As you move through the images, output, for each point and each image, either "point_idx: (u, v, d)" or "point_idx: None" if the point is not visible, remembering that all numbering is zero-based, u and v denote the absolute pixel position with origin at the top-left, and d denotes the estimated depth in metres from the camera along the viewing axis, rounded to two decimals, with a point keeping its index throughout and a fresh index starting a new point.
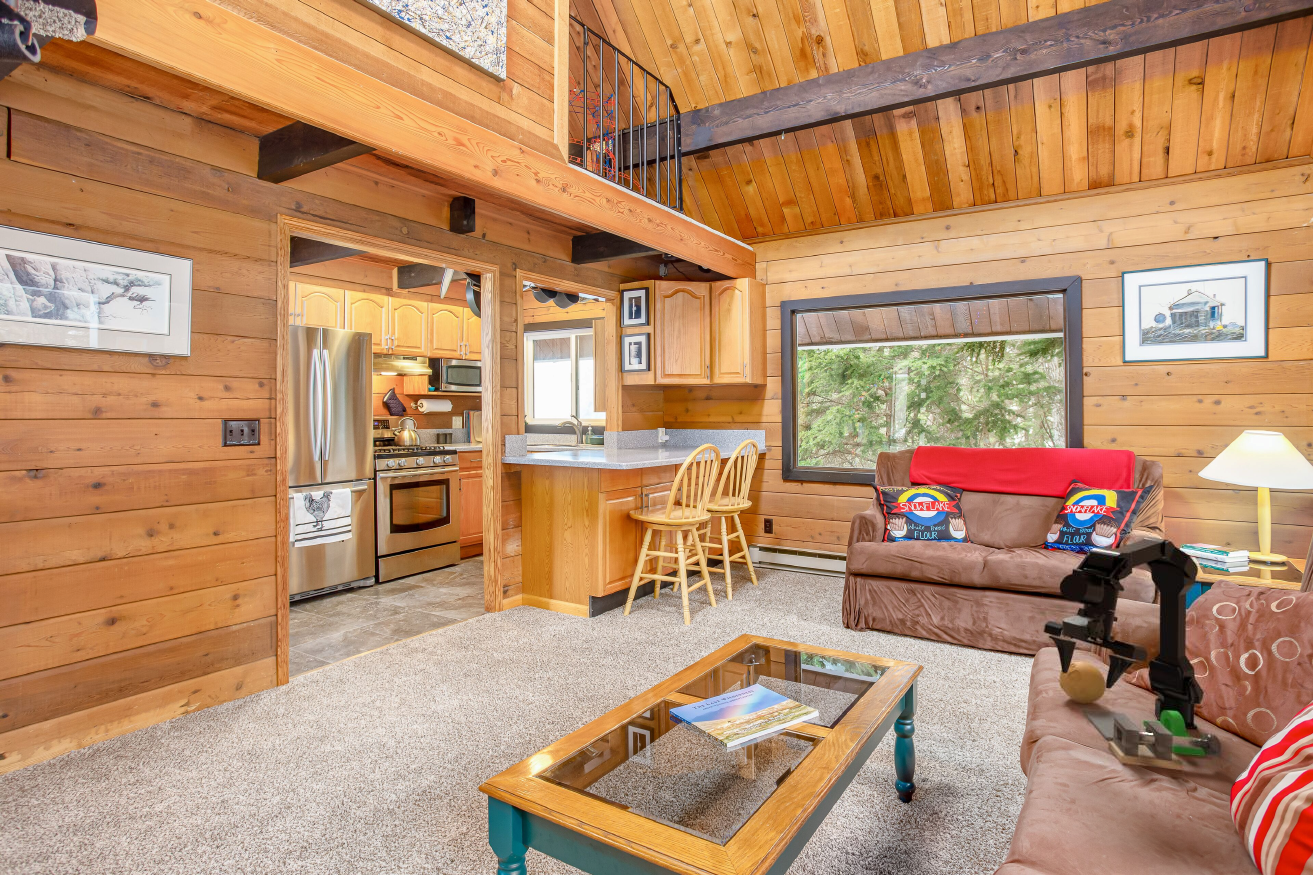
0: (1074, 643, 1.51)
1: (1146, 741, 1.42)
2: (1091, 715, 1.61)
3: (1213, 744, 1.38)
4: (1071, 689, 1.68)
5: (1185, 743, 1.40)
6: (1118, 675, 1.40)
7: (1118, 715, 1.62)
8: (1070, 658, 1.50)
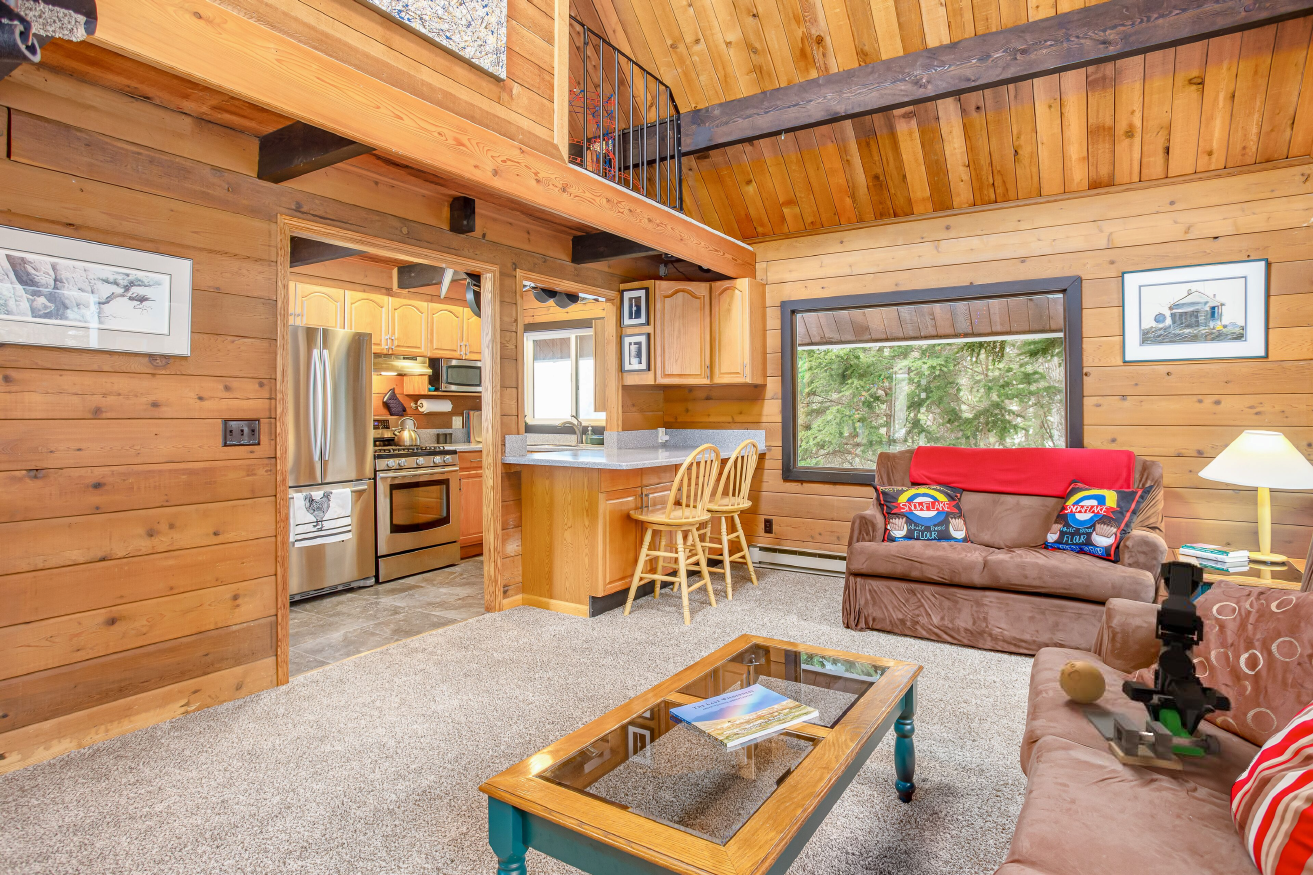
0: None
1: (1146, 741, 1.42)
2: (1091, 715, 1.61)
3: (1213, 744, 1.38)
4: (1071, 690, 1.68)
5: (1185, 743, 1.40)
6: None
7: (1118, 715, 1.62)
8: None
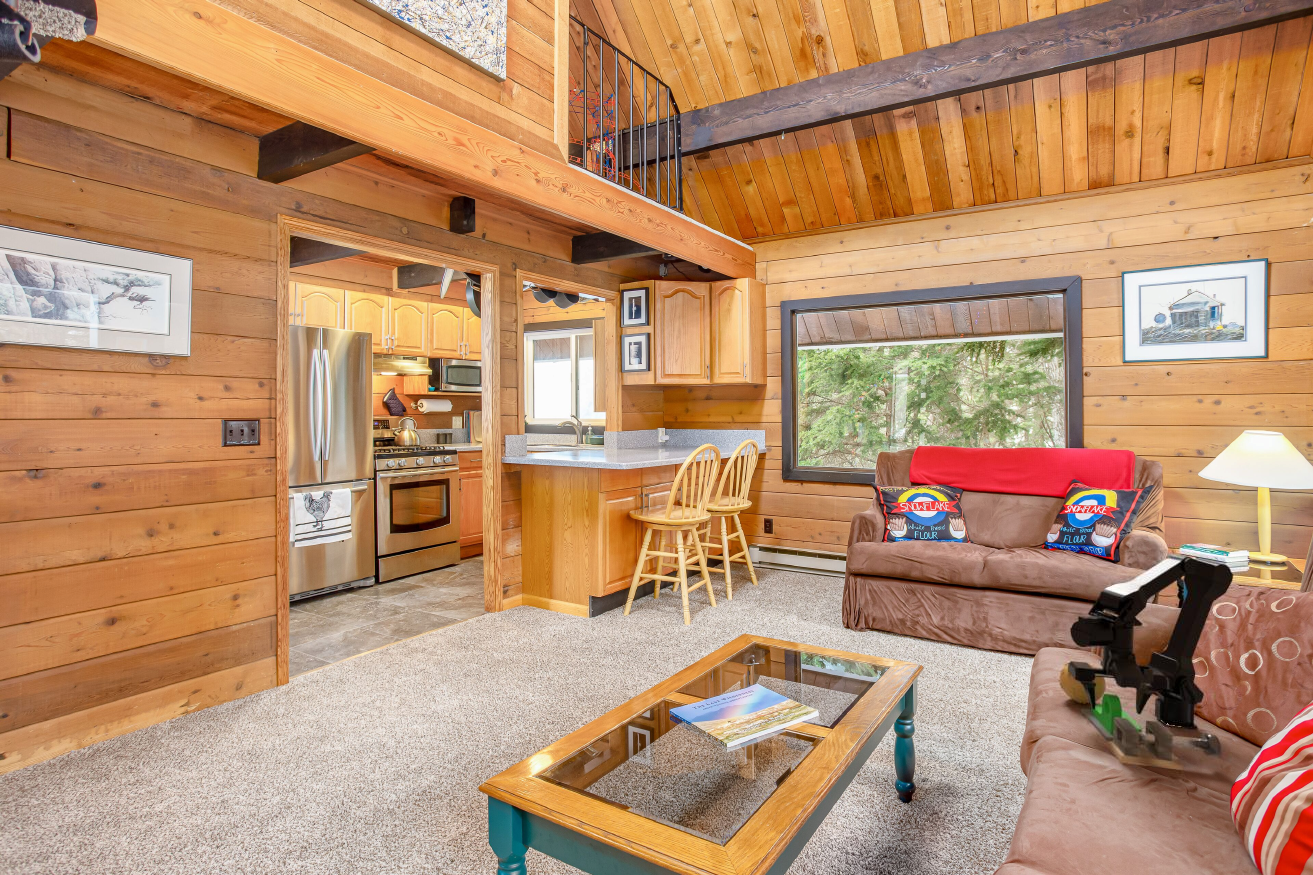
0: None
1: (1146, 741, 1.42)
2: (1091, 715, 1.61)
3: (1213, 744, 1.38)
4: (1071, 689, 1.68)
5: (1185, 743, 1.40)
6: None
7: None
8: None
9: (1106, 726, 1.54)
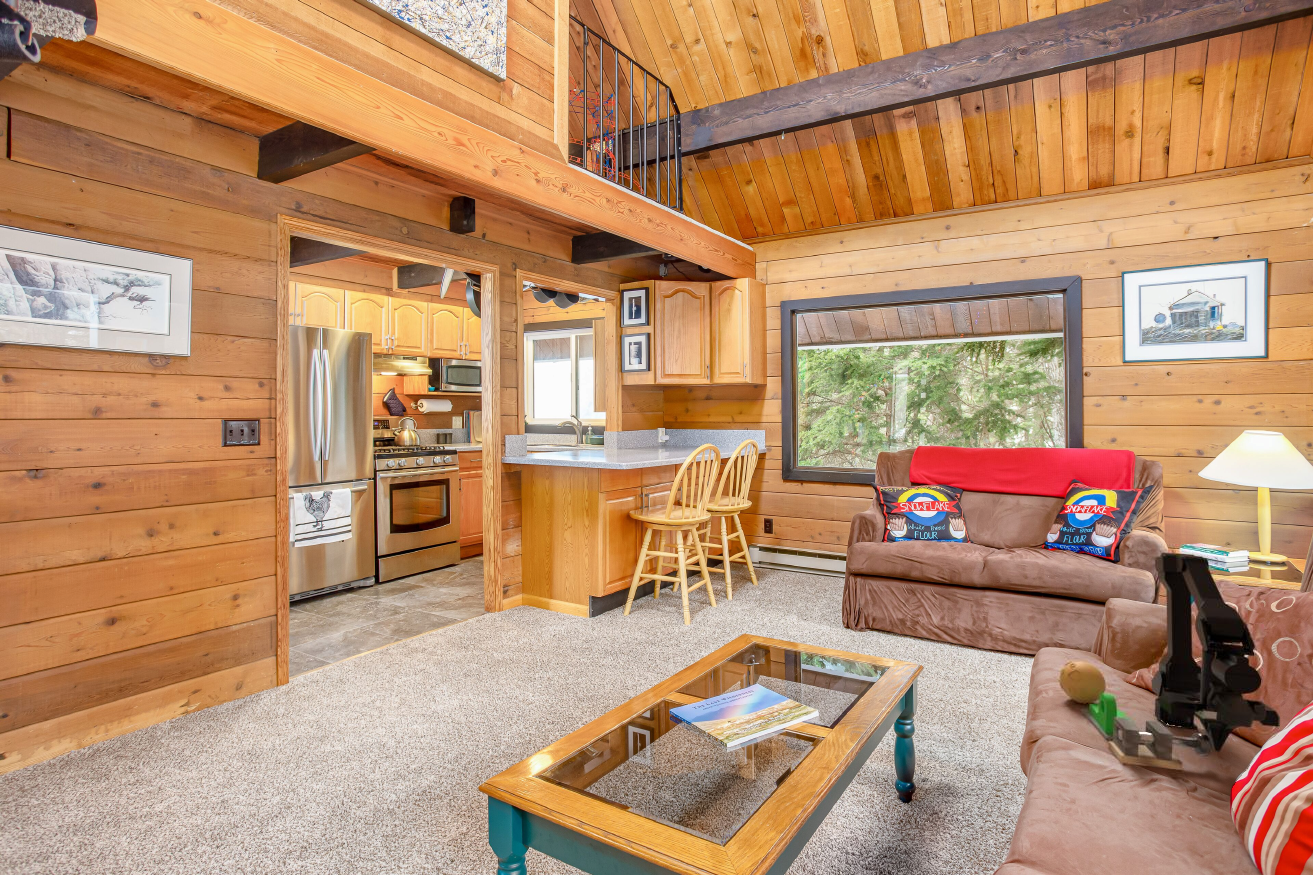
0: None
1: None
2: (1091, 715, 1.61)
3: (1203, 743, 1.38)
4: (1071, 690, 1.68)
5: (1175, 742, 1.40)
6: None
7: None
8: None
9: (1102, 725, 1.55)
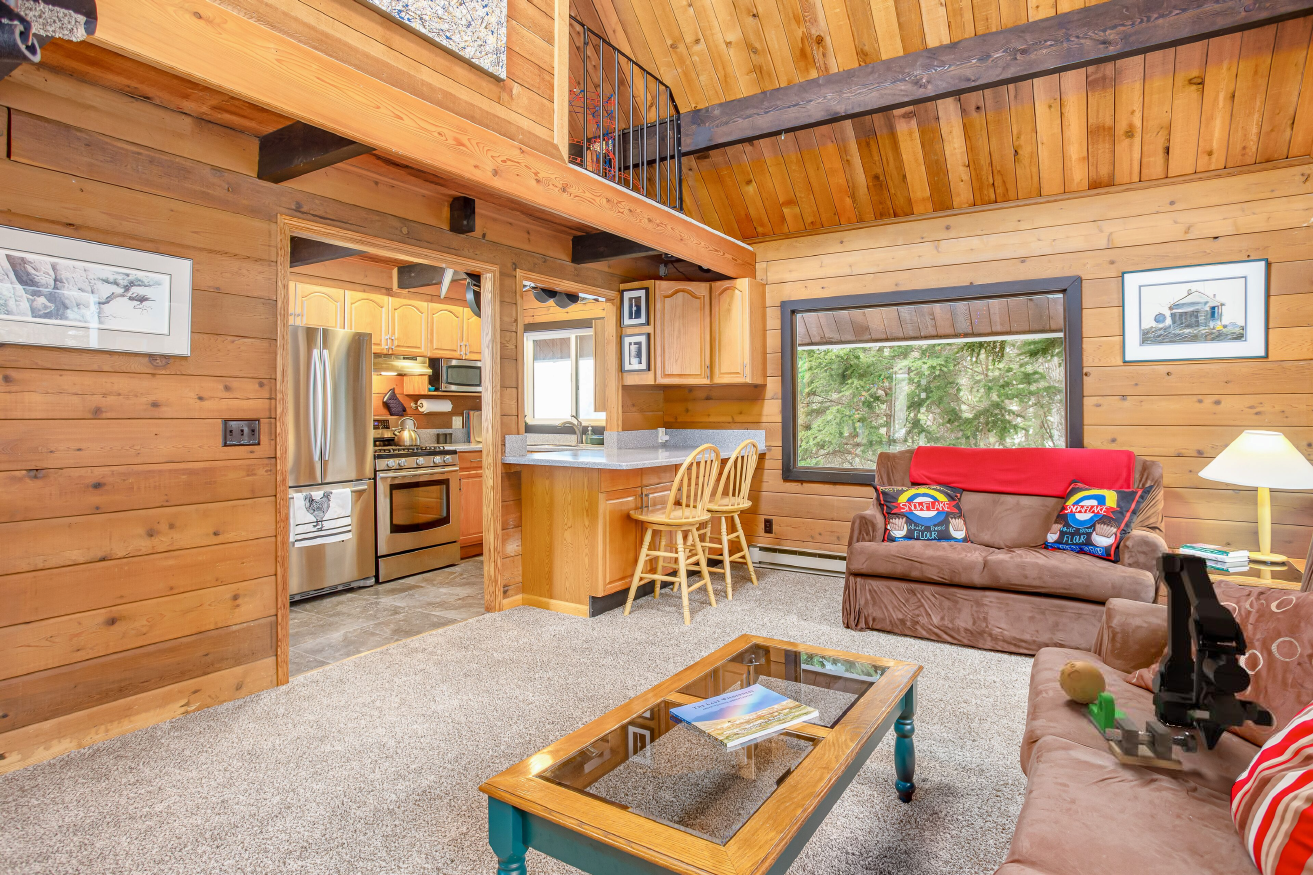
0: None
1: None
2: (1091, 715, 1.61)
3: (1190, 741, 1.39)
4: (1071, 690, 1.68)
5: None
6: None
7: None
8: None
9: (1100, 725, 1.55)
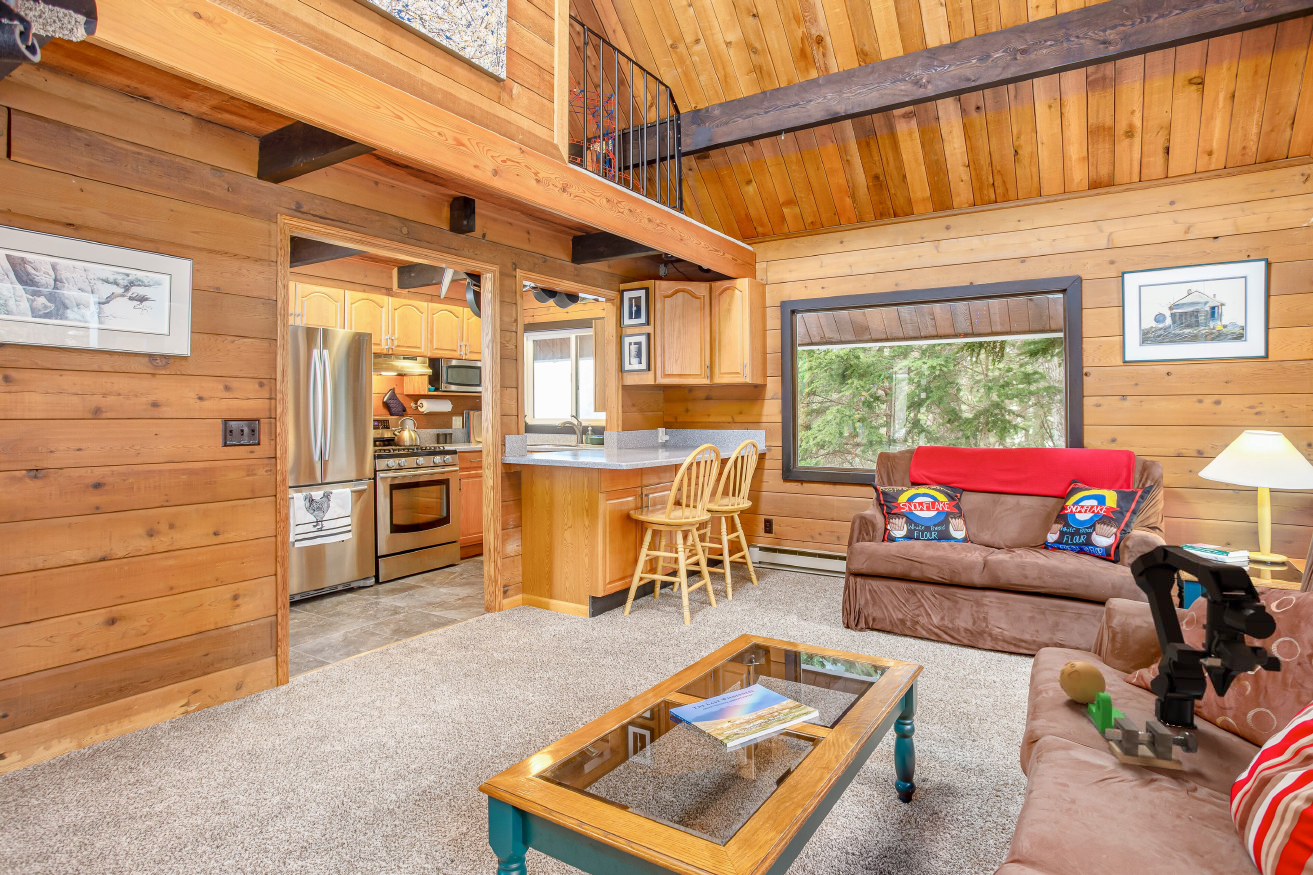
0: None
1: None
2: None
3: (1190, 741, 1.39)
4: (1071, 689, 1.68)
5: None
6: None
7: None
8: None
9: (1098, 724, 1.55)
